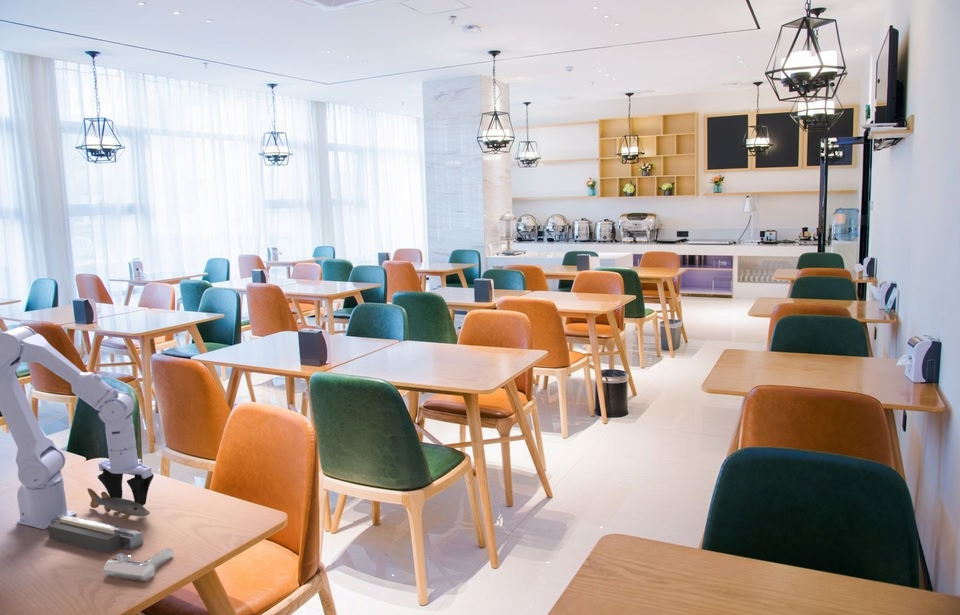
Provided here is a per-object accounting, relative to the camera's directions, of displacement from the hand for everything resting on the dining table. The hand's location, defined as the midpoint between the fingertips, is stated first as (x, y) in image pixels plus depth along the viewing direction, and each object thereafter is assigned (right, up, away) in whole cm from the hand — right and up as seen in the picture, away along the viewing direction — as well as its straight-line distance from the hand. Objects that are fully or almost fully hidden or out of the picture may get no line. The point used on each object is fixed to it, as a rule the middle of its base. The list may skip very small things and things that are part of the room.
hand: (129, 503), depth 160 cm
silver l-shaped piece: (+15, -6, -25) cm, 29 cm away
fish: (-1, -3, -2) cm, 3 cm away
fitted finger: (-2, -4, -14) cm, 15 cm away
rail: (-1, -4, -12) cm, 12 cm away
